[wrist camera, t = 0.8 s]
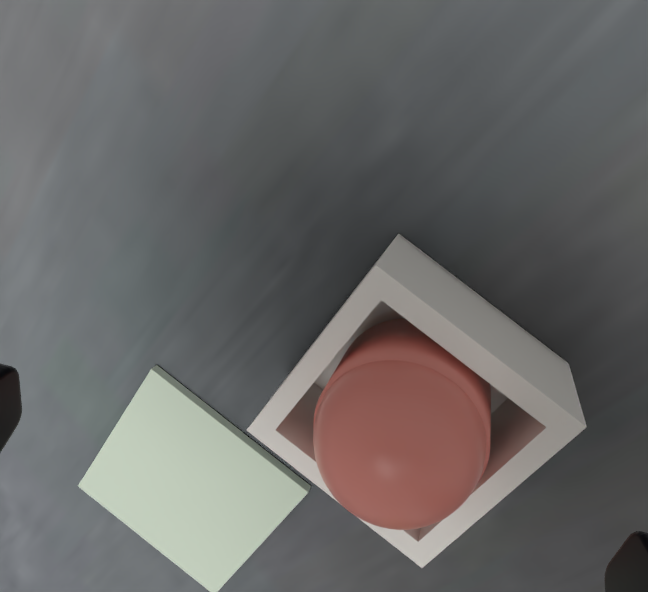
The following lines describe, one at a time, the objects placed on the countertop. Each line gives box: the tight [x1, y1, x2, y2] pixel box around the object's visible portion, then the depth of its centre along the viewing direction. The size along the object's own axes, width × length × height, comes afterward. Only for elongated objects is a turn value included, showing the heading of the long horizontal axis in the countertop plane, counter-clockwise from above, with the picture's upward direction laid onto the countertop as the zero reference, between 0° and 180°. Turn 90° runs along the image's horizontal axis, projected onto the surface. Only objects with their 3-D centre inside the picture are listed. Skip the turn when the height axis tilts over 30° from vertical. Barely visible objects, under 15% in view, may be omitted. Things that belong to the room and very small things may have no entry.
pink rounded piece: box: [313, 318, 491, 530], centre depth 16 cm, size 5×5×5 cm
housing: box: [247, 233, 587, 568], centre depth 18 cm, size 7×7×4 cm
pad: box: [78, 365, 311, 592], centre depth 25 cm, size 8×8×1 cm
